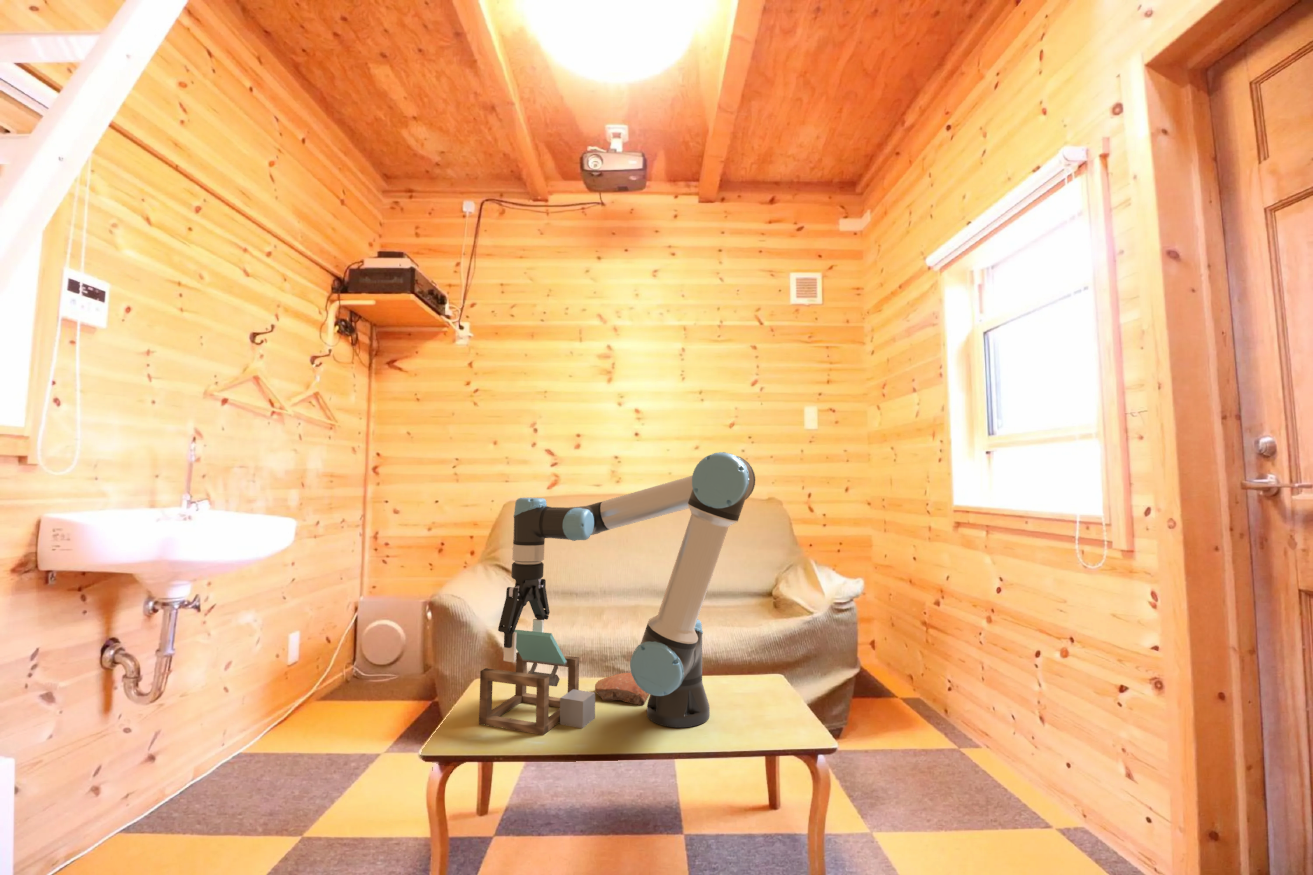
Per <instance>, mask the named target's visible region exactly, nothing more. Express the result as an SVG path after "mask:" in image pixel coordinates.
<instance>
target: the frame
mask: <svg viewBox="0 0 1313 875" xmlns="http://www.w3.org/2000/svg"><path fill="white" fill-rule="evenodd" d="M563 656H564V657H565V659H566V661H567V666H564V665H555V664H547V663H539V662H530V661H523V660H522V657H521V656H520V654H519V652H518V651H516V659H515V671H511V670H503V669H494V668H487V667H486V668H483V669H481V670H480V671H479V672H480V673H479V674H480V675H479V676H480V678H479V679H480V681H479V707H478V708H479V710H478V711H479V712H478V724H479V725H480V724H485V725H484V726H486V725H489V726H488V727H492V726H495V727H494V728H498V727H503V728H502V729H504V728H507V729H506V730H511V731H518V732H522V733H523V732H524V733H529V734H534V735H540V736H541V735H542V736H545V735H546V734H547V733H548V732H549V731H550V730H552V729H553V728H554V727H555V726H557V725H558V724H560V698H561V697H558V696H550V686H549V676H542V675H534V674H528V672H527V671H528V663H532V664H533V663H537V665H538V664H539V665H540V664H541V665H549V666H554V665H555V666H558V667H564V668H565V667H566V668H568V669H567V693H568V692H570V691H571V690H573V689H575V690H580V688H579V686H580V657H578V656H571V655H570V656H569V655H563ZM494 682H495V683H501V684H502V683H503V684H509V685H515V689H514V691H515V693H514V694H515V695H513V696H510V697H509V698H508V699H506V700H505V701H504V702H501V703H500V704H499V705H497V706H496V707H494V708H493V683H494ZM527 687H530V688H536V694H535V693H527ZM521 703H526V704H527V703H528V704H533V705H535V706H536V708H535V711H536V712H535V721H529V720H523V719H517V718H510V717H504V715H505V714H506V713H507V712H509V711H510V710H512V709H513V708H515V707H517V706H518V705H520V704H521ZM549 707H554V708H558V709H557V710H556V711H554V712H553V713H552V714H550V715H549Z"/></svg>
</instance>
